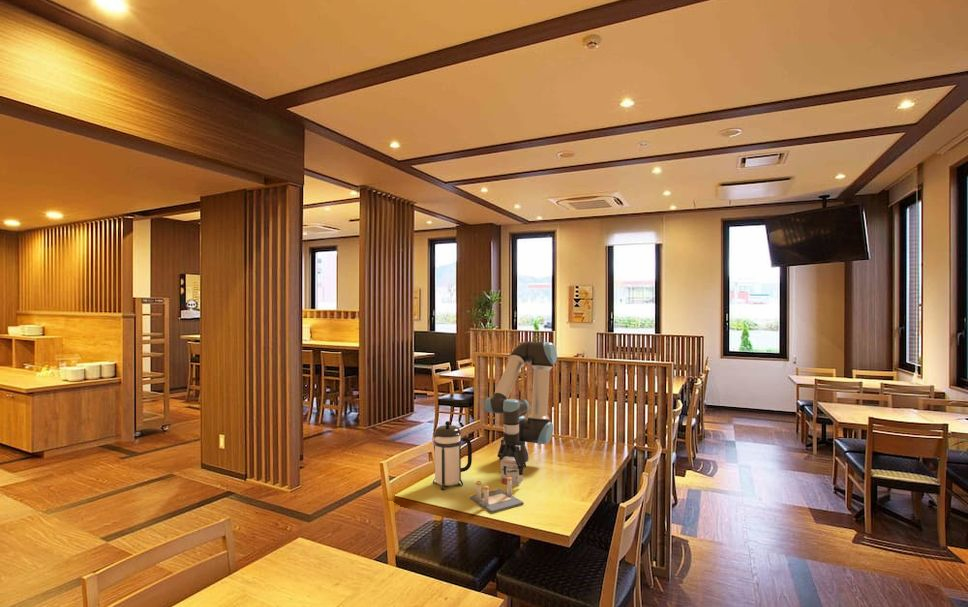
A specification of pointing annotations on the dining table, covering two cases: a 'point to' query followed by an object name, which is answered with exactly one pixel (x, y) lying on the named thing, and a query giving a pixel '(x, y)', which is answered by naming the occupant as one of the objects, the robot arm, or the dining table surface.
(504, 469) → the ink box
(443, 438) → the coffee press
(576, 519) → the dining table surface
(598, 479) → the dining table surface
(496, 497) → the header pad
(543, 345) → the robot arm
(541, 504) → the dining table surface
